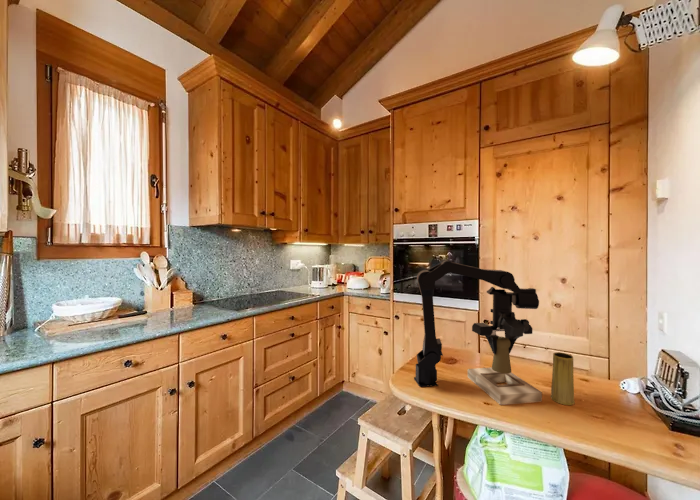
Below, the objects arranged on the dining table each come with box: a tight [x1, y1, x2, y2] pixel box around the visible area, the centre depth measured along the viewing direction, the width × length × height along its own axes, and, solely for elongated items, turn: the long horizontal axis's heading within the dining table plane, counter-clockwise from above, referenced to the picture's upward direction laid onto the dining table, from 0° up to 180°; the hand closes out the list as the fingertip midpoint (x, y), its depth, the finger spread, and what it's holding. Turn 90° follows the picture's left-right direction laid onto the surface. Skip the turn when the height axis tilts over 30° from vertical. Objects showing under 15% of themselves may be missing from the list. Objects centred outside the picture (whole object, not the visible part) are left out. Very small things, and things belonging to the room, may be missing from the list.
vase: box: [550, 351, 576, 406], centre depth 93 cm, size 6×6×14 cm
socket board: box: [467, 366, 543, 406], centre depth 100 cm, size 14×19×3 cm
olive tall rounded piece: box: [491, 336, 512, 374], centre depth 100 cm, size 6×6×11 cm
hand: (501, 353), depth 100 cm, fingers closed on olive tall rounded piece, 5 cm apart
